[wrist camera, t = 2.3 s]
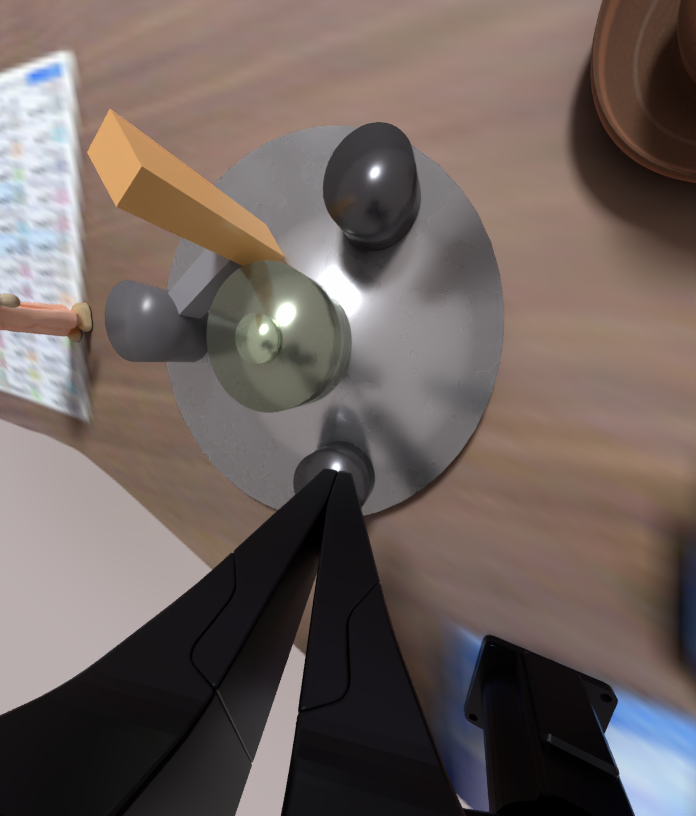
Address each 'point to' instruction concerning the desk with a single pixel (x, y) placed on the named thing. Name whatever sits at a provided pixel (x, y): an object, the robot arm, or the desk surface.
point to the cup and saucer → (648, 82)
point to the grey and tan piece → (184, 216)
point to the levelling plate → (391, 325)
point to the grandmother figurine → (44, 318)
